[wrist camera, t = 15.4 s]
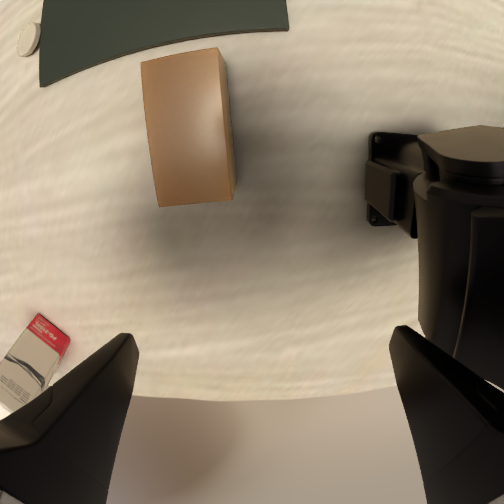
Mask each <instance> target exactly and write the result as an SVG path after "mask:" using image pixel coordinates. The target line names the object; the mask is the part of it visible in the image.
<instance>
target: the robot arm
mask: <svg viewBox="0 0 504 504" xmlns="http://www.w3.org/2000/svg"><path fill="white" fill-rule="evenodd" d="M376 136H378V137H379V141H378V142H377V143H376V142H375V137H376ZM365 200H366V201H367V202H368V206H367V221H368V223H369V224H370V225H372V226H394V225H398V226H399V227H400V228H401V229H402V230H404V231H405V232H406V233H407V234H408V235H409V236H410V237H411V238H414V239H417V238H418V252H419V305H418V320H419V323H420V325H421V328H422V330H423V333H424V334H425V338H424V337H423V336H422V335H420V334H419V333H417V332H416V331H414V330H413V329H411V328H410V327H408V326H407V325H402V326H397V327H395V329H394V331H393V334H392V337H391V340H390V343H389V351H390V355H391V360H392V364H393V369H394V373H395V378H396V383H397V386H398V390H399V393H400V396H401V400H402V403H403V406H404V409H405V413H406V416H407V420H408V423H409V427H410V430H411V434H412V437H413V441H414V445H415V449H416V453H417V457H418V461H419V465H420V470H421V474H422V479H423V482H424V489H425V494H426V499H427V504H504V393H503V392H502V391H500V390H499V389H497V388H495V387H494V386H492V385H491V384H489V383H488V382H486V381H485V380H487V381H489V382H491V383H493V384H495V385H497V386H498V387H500V388H502V389H503V390H504V128H500V127H492V126H482V125H479V126H471V127H464V128H458V129H451V130H445V131H439V132H434V133H428V134H423V135H412V134H402V133H390V132H372V133H371V134H370V136H369V160H368V162H367V163H366V176H365ZM374 216H376V220H375V221H372V218H373V217H374ZM138 359H139V350H138V347H137V345H136V342H135V340H134V337H133V335H132V334H130V333H120V334H118V335H117V336H116V337H115V338H113V339H112V340H111V341H109V342H108V343H107V344H105V345H104V346H103V347H101V348H100V349H99V350H97V351H96V352H95V353H93V354H92V355H91V356H89V357H88V358H87V359H86V360H84V361H83V362H82V363H80V364H79V365H78V366H76V367H75V368H74V369H73V370H71V371H70V372H69V373H67V374H66V375H65V376H63V377H62V378H61V379H60V380H58V381H57V382H56V383H54V384H53V386H50V387H49V388H48V389H47V390H45V391H44V392H43V393H41V394H40V395H39V396H37V397H36V398H34V399H33V400H32V401H30V402H29V403H27V404H26V405H24V406H22V407H21V408H19V409H18V410H16V411H15V412H13V413H11V414H10V415H8V416H7V417H5V418H3V419H2V420H0V504H106V500H107V495H108V489H109V484H110V480H111V474H112V470H113V466H114V461H115V457H116V453H117V449H118V445H119V441H120V437H121V433H122V429H123V425H124V421H125V417H126V414H127V410H128V407H129V403H130V399H131V396H132V392H133V387H134V381H135V375H136V370H137V364H138Z"/></svg>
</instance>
